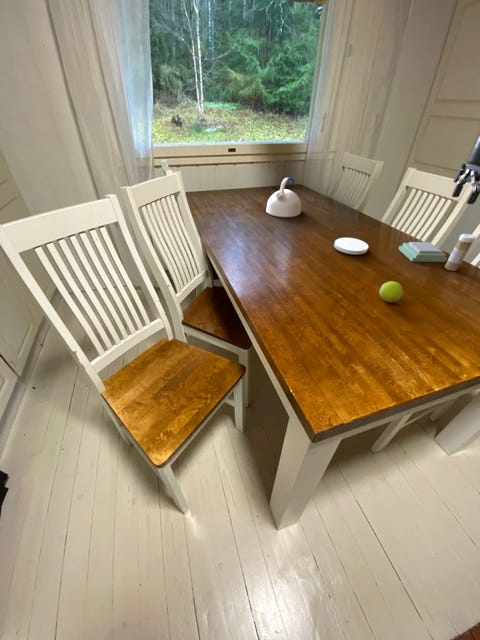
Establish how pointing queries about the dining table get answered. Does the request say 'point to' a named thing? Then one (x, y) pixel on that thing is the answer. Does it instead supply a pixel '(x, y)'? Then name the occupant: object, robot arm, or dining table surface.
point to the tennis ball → (391, 291)
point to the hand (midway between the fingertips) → (462, 200)
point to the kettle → (284, 202)
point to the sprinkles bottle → (459, 252)
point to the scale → (421, 255)
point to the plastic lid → (351, 246)
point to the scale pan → (424, 248)
